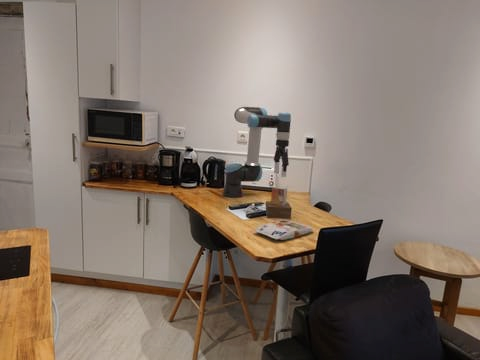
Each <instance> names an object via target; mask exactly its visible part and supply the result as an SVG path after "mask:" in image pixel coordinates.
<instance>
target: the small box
mask: <svg viewBox="0 0 480 360" xmlns="http://www.w3.org/2000/svg"><path fill="white" fill-rule="evenodd" d="M287 196H288V187H283V186H282V187H281V186H276V185H275V186H273V187H272V188H271V196H270V197H271V200H270V201H271V204H274V205H279V206H284V205H286V202H287Z"/></svg>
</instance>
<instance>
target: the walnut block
mask: <svg viewBox="0 0 480 360" xmlns="http://www.w3.org/2000/svg"><path fill="white" fill-rule="evenodd" d="M265 209H266V212H265V215H266V218H267V219H281V220H291V219H292V211H293V210H292V206H291V205H290V203H289V202H287V201H286V205H284V206H279V205H274V204H271V200H270V201H265Z"/></svg>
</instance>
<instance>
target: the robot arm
mask: <svg viewBox="0 0 480 360" xmlns="http://www.w3.org/2000/svg"><path fill="white" fill-rule="evenodd" d="M233 114H234V119H235V121H236V122H238V123H240V124H247V127H248V128H249V131H248V144H247V155H246V161H245V162H244V165H243V164H242V163H229V164H227V165H226V166H225V178H224V179H225V180H224V181H225V182H224V184H225V185H224V187H223V189H222V193H221V194H222V196H223V197H226V198H234V199H235V198H242V197H243V196H244V195H243V194H244V193H243V192H244V191H243V188H242V182H245V183H246V182H250V183H251V182H252V183H253V182H259V181H260V180H261V178H262V176H263V167H262V166H261V163H260V162H259V161H260V160H259V158H260V148H261V138H262V129H264V128H266V129H276V133H275V135H276V137H275V138H276V140H275V146H276V148H275V152H274V156H273V161H274V169H273V173H274V174H279V172H280V159H281V162H282V164H281V178H286V177H287V171H288V169H287V168H288V166H290V164H289V163H290V162H289V152H288V151H289V149H288V148H287V147H290V146H289V144H290V135H291V133H290V132H291V131H290V130H291V122H292V118H291V117H292V115H291V113H289V112H279V113H278V114H277V115H272V114H271V115H268V111H267V110H266V108H264V107H259V106H257V107H255V106H241V107H239V108H237V109H236V110H235V111H234V113H233Z"/></svg>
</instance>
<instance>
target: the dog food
mask: <svg viewBox="0 0 480 360" xmlns="http://www.w3.org/2000/svg"><path fill="white" fill-rule="evenodd" d="M313 230H315V227H311V226H308V225H306V224H303V223H299V222H296V221H294V220H290V219H281V220H276V221H270V222H268V223H265V224H262V225H259V226H258V227H256V228H255V229H253V231H254V232H255V233H256V232H257V233H260V234H261V235H264V236H267V237H269V238H272V239H274V240H281V241H282V240H283V241H285V240H290V239H294V238H298V237H301V236H304V235H306V234H308V233H310V232H311V231H313Z"/></svg>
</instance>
